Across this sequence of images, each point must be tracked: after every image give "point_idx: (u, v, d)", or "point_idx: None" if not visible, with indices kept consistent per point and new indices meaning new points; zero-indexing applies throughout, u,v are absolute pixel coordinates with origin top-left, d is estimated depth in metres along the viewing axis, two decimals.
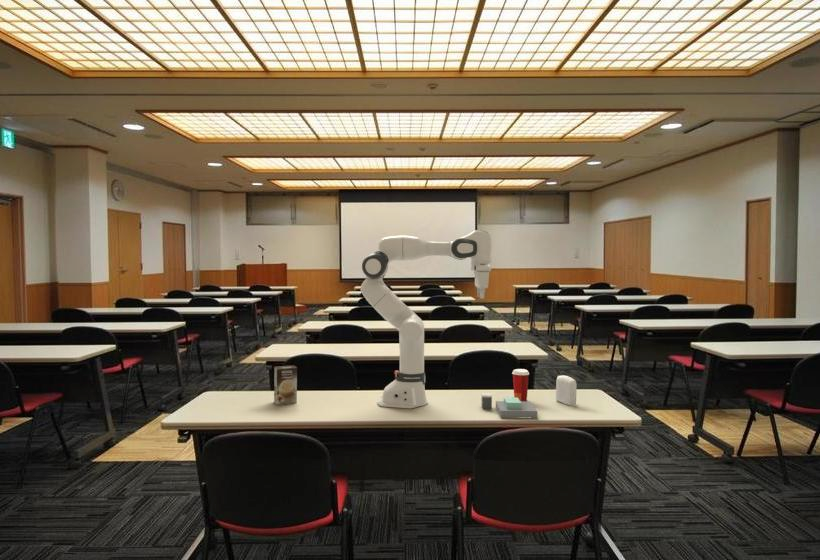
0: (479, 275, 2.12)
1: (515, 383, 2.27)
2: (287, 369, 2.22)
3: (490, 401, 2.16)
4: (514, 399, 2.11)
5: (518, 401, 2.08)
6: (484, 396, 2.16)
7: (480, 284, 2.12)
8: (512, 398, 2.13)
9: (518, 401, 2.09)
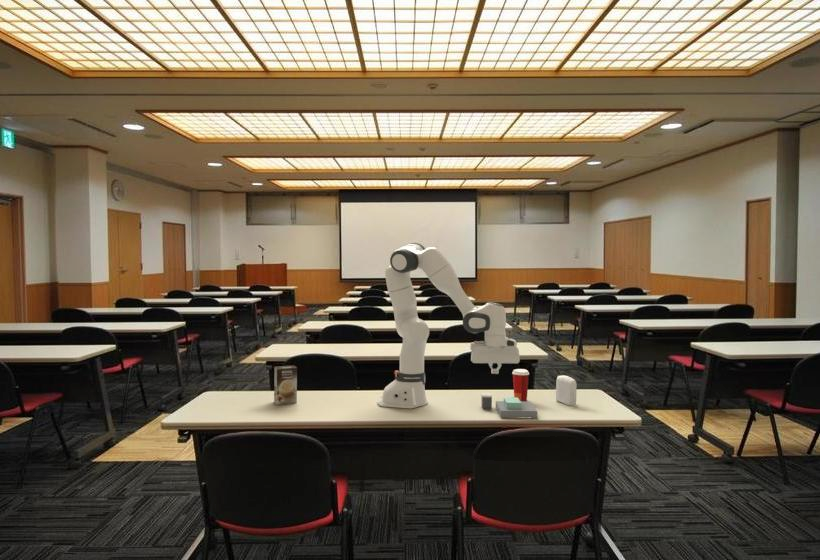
0: (518, 350, 2.08)
1: (515, 383, 2.27)
2: (287, 369, 2.22)
3: (490, 401, 2.16)
4: (514, 399, 2.11)
5: (518, 401, 2.08)
6: (484, 396, 2.16)
7: (519, 359, 2.08)
8: (512, 398, 2.13)
9: (518, 401, 2.09)
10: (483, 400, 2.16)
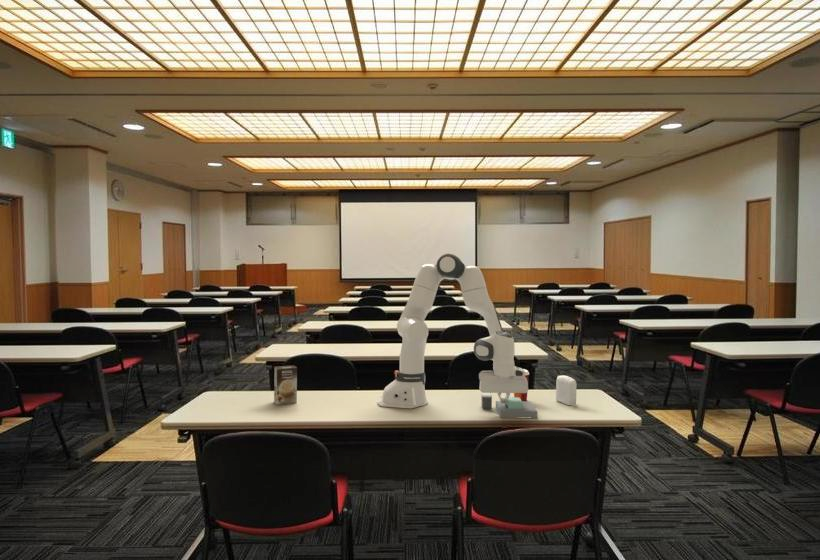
0: None
1: None
2: (287, 369, 2.22)
3: (490, 401, 2.16)
4: (516, 399, 2.11)
5: (520, 401, 2.08)
6: (484, 396, 2.16)
7: None
8: (514, 398, 2.13)
9: (520, 401, 2.09)
10: (483, 400, 2.16)
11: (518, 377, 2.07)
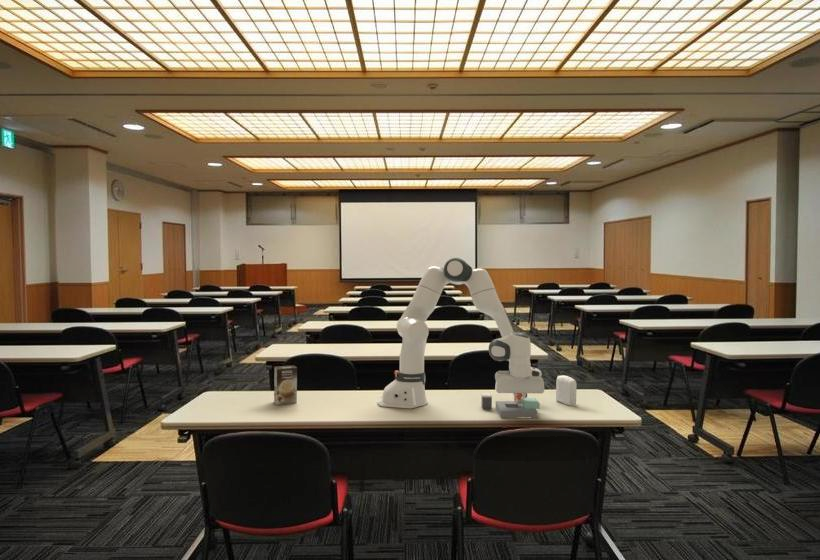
0: None
1: None
2: (287, 369, 2.22)
3: (490, 401, 2.16)
4: (532, 399, 2.11)
5: (536, 401, 2.08)
6: (484, 396, 2.16)
7: None
8: (530, 398, 2.13)
9: (536, 401, 2.09)
10: (483, 400, 2.16)
11: (534, 377, 2.07)
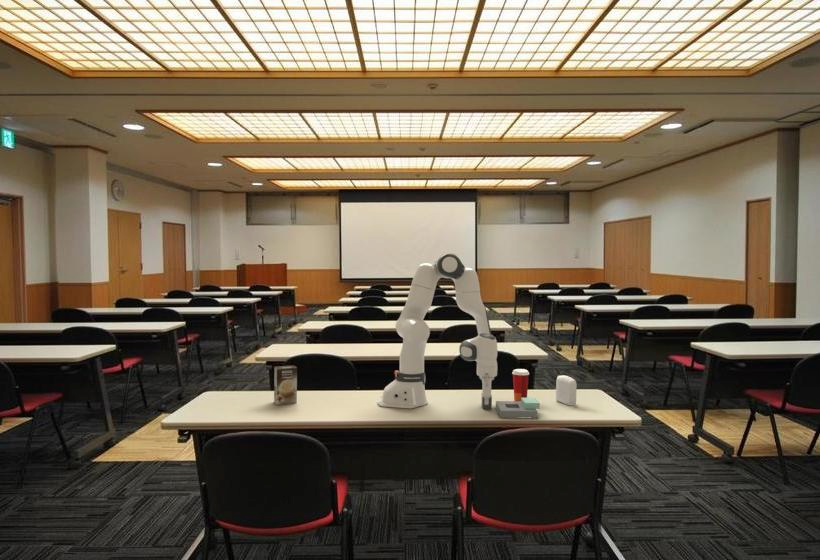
0: None
1: (515, 383, 2.27)
2: (287, 369, 2.22)
3: (490, 401, 2.16)
4: (532, 399, 2.11)
5: (536, 401, 2.08)
6: None
7: None
8: (530, 398, 2.13)
9: (536, 401, 2.09)
10: (483, 400, 2.16)
11: None
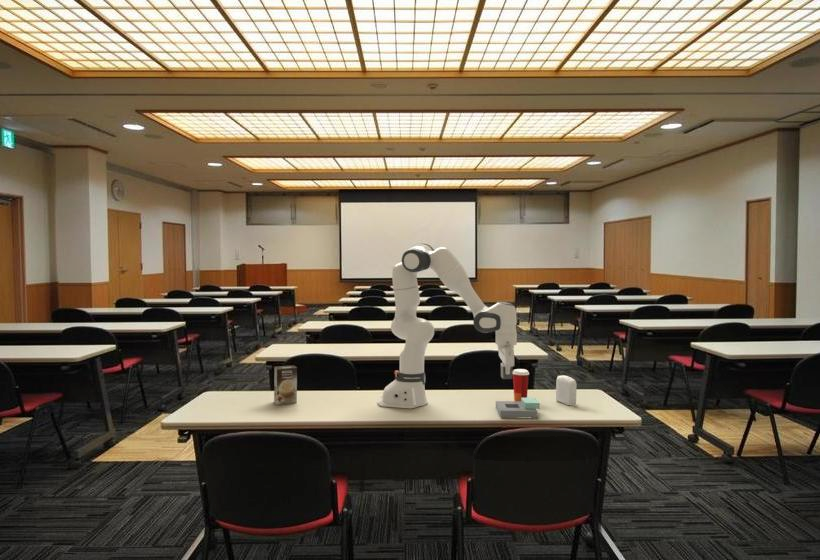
0: None
1: (515, 383, 2.27)
2: (287, 369, 2.22)
3: (511, 370, 2.10)
4: (532, 399, 2.11)
5: (536, 401, 2.08)
6: None
7: None
8: (530, 398, 2.13)
9: (536, 401, 2.09)
10: (504, 370, 2.09)
11: None
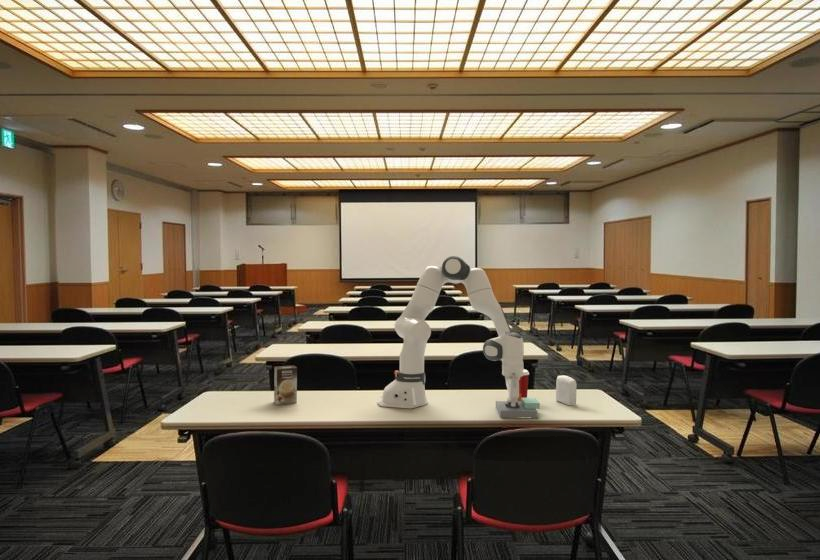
0: None
1: None
2: (287, 369, 2.22)
3: (516, 406, 2.09)
4: (532, 399, 2.11)
5: (536, 401, 2.08)
6: (510, 401, 2.09)
7: None
8: (530, 398, 2.13)
9: (536, 401, 2.09)
10: (509, 405, 2.09)
11: None
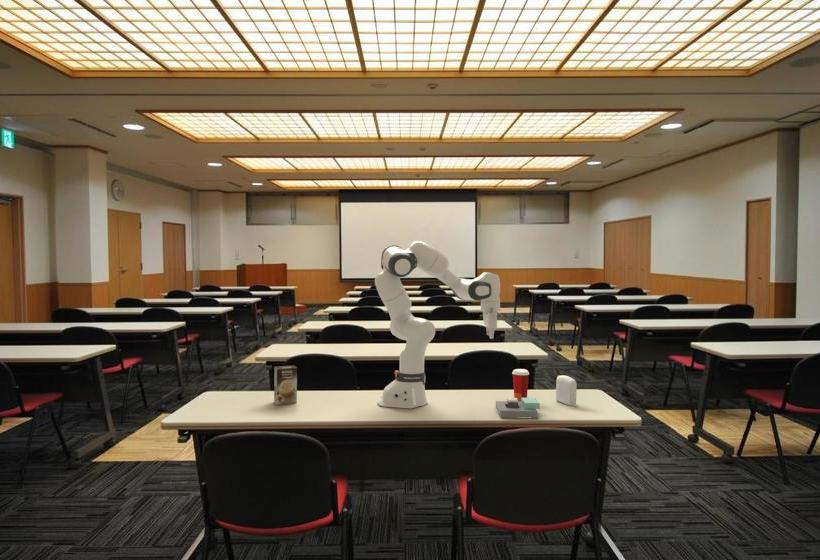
0: None
1: (515, 383, 2.27)
2: (287, 369, 2.22)
3: (516, 406, 2.09)
4: (532, 399, 2.11)
5: (536, 401, 2.08)
6: (510, 401, 2.09)
7: None
8: (530, 398, 2.13)
9: (536, 401, 2.09)
10: (509, 405, 2.09)
11: None
